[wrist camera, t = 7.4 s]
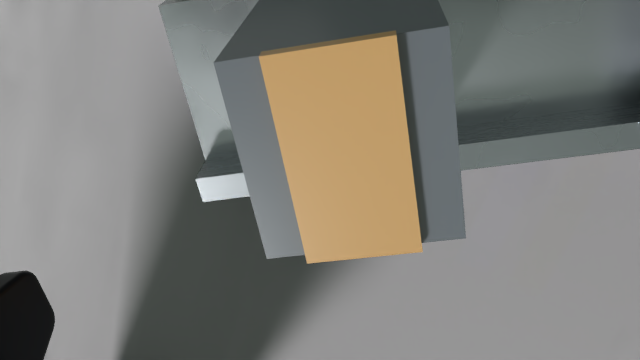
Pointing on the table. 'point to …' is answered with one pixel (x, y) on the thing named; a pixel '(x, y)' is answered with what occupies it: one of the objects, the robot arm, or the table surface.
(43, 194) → the table surface
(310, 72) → the block
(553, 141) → the rail
